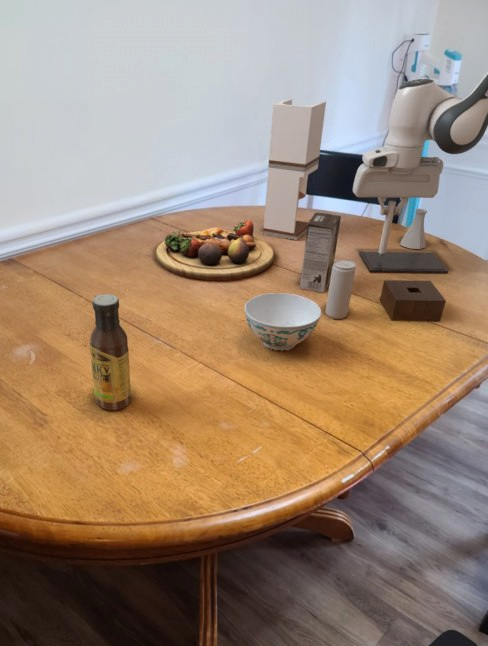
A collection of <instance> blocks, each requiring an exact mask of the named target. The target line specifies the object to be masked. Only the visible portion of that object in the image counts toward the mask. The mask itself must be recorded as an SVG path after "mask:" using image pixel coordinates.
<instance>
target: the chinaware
mask: <svg viewBox="0 0 488 646" xmlns="http://www.w3.org/2000/svg"><path fill="white" fill-rule="evenodd" d="M320 307H321V306H319V305H318V304H317V303H316V302H315V301H313V300H311V299H309V298H307V297H305V296H301V295H298V294H293V293H287V292H267V293H262V294H258V295H256V296H253V297H251V298H249V299H248V301H246V302H245V304H244V316H245V319H246V322H247V323H246V324H247V325H248V327H249V329H250V331H251V332H252V334H253V335H254V336H255V337H256V338H257V339H258V340H260V341H261V342H262V344H263V346H264V347H266V348H267V347H268V348H267V349H269V348H271V349H270V350H272V349H274V350H273V351H276V350H281V351H280V352H284V351H283V350H286V351H290V350H292V349H294V348H295V347H296V345H298V344H300V343H302V342H303V341H304V340H306V339H308V337H309V336H310V335H311V334H312V333H313V332H314V330H315V329H316V327H317V325H318V324H319V322H320V318H321V317H322V310H321V308H320ZM291 348H292V349H291Z"/></svg>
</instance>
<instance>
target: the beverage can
mask: <svg viewBox="0 0 488 646" xmlns="http://www.w3.org/2000/svg"><path fill="white" fill-rule="evenodd" d="M356 266H357V265H356V263H355V262H353V261H351V260H347V259H339V260H334V265H333V267H332V273H331V279H330V282H329V285H328V286H329V287H328V294H327V300H326V305H325V306H326V307H325V314H326V316H328V317H329V318H330V319H334V320H342V319H344V318H346V317H347V316H348V313H349V307H350V303H351V302H350V301H351V296H352V292H353V291H352V290H353V287H354V286H353V285H354V280H355V276H356V275H355V274H356V269H357V268H356Z"/></svg>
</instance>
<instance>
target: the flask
mask: <svg viewBox="0 0 488 646" xmlns="http://www.w3.org/2000/svg"><path fill="white" fill-rule="evenodd" d="M427 213H428V209H424V208H416V209H415V210H414V217H413V220H412V222H411V224H410V226H409V227H408V229H407V231H406V233H405V234H404V236H403V237H402V238H401V241H400V246H401V247H405V248H408V249H415V250H421V249H424V248H427V244H426V235H425V217H426V214H427Z"/></svg>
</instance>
